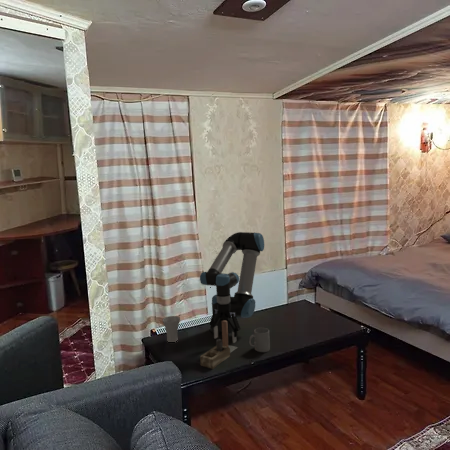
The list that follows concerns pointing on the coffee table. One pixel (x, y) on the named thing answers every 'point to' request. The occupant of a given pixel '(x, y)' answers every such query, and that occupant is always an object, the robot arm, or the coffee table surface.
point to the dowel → (225, 333)
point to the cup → (171, 327)
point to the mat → (231, 348)
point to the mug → (261, 340)
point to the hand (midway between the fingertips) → (225, 339)
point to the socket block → (215, 355)
